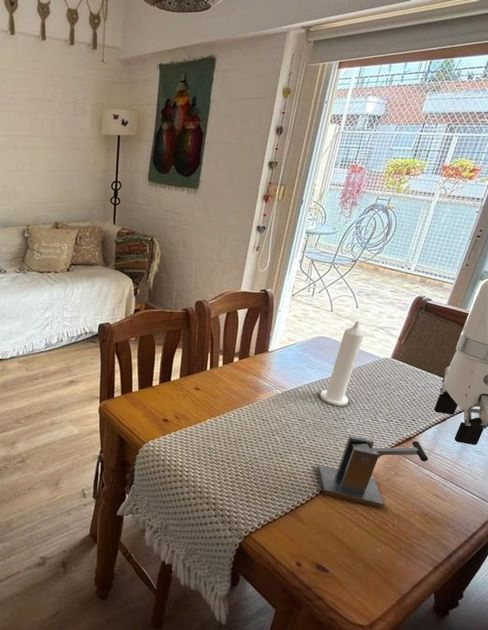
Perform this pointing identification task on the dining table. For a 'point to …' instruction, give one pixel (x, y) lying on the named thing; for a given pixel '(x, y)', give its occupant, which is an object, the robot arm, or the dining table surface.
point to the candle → (343, 366)
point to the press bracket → (353, 475)
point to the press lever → (397, 450)
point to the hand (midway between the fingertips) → (453, 426)
